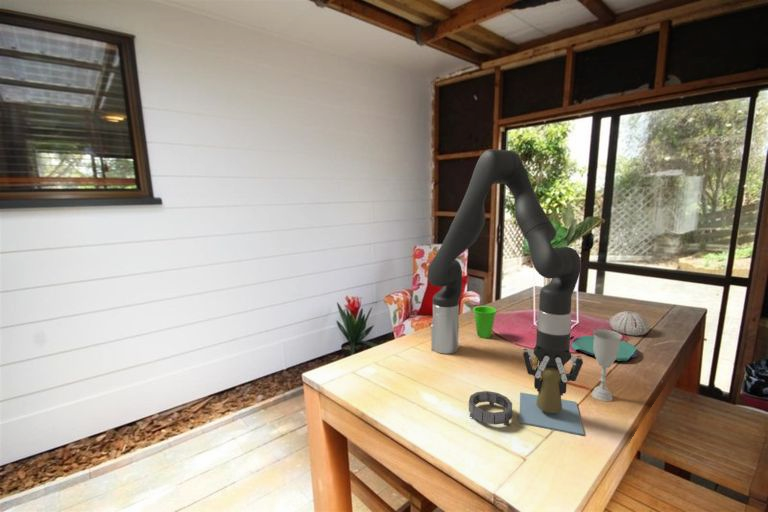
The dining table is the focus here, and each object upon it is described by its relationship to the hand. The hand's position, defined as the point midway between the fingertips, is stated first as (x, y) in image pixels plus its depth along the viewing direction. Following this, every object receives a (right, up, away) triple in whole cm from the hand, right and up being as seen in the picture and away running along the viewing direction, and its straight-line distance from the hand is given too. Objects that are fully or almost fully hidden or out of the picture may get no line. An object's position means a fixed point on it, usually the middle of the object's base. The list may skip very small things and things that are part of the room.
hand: (549, 391), depth 90 cm
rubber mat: (0, -6, +1) cm, 6 cm away
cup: (-2, +2, +52) cm, 52 cm away
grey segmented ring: (-15, -6, 0) cm, 16 cm away
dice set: (+9, -2, +28) cm, 29 cm away
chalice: (+18, -4, +8) cm, 20 cm away
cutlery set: (+33, +1, +40) cm, 51 cm away
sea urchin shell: (+57, +4, +53) cm, 78 cm away
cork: (0, -4, +1) cm, 4 cm away
